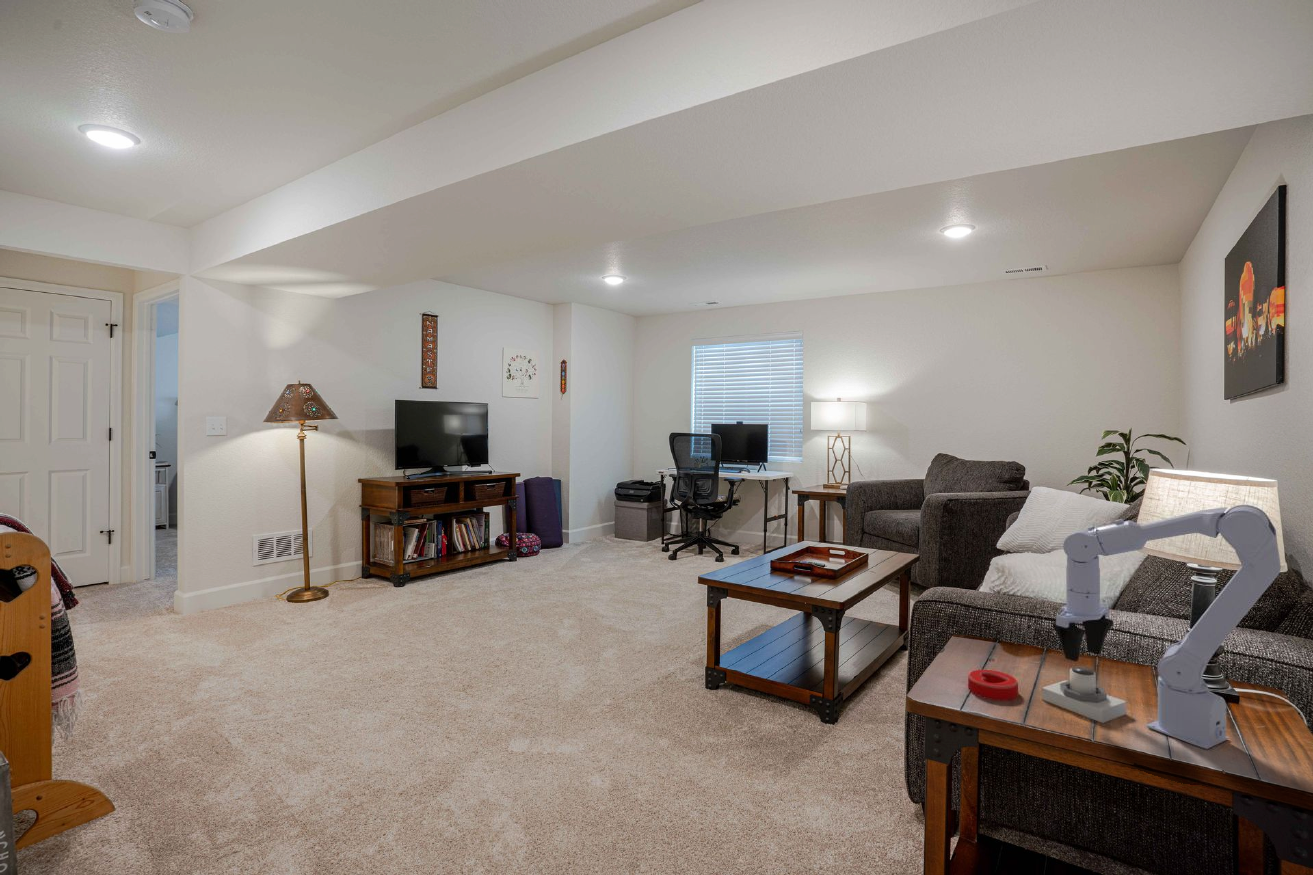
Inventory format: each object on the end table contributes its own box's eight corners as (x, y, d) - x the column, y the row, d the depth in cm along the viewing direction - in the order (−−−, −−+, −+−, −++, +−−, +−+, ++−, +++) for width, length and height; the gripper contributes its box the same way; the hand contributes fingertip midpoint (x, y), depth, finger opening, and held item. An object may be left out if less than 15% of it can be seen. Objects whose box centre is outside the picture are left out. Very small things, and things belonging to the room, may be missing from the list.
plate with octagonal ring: (1126, 713, 128) (1126, 695, 128) (1102, 722, 125) (1102, 704, 125) (1065, 691, 139) (1065, 674, 139) (1041, 699, 136) (1041, 681, 136)
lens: (1100, 695, 131) (1100, 671, 131) (1087, 700, 129) (1088, 675, 129) (1077, 687, 135) (1077, 664, 135) (1065, 692, 133) (1065, 668, 133)
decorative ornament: (1027, 700, 136) (1027, 685, 136) (983, 702, 135) (983, 687, 135) (1001, 681, 146) (1001, 668, 145) (959, 683, 145) (959, 669, 145)
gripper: (1083, 581, 138) (1084, 643, 139) (1041, 590, 132) (1041, 656, 132) (1119, 588, 132) (1119, 654, 132) (1076, 598, 125) (1076, 667, 126)
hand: (1083, 656), depth 132 cm, fingers open, 7 cm apart
